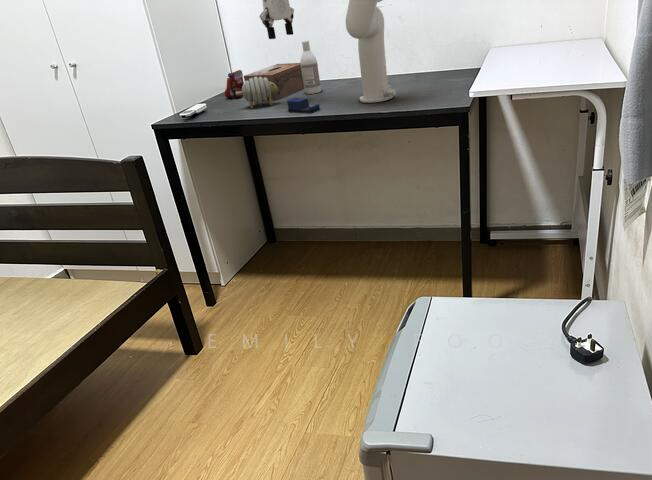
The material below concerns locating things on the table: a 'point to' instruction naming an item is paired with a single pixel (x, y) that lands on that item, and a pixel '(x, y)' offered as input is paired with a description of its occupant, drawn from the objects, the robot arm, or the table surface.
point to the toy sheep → (258, 91)
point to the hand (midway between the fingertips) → (281, 36)
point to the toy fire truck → (234, 84)
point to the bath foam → (309, 70)
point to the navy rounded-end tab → (301, 105)
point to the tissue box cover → (281, 78)
